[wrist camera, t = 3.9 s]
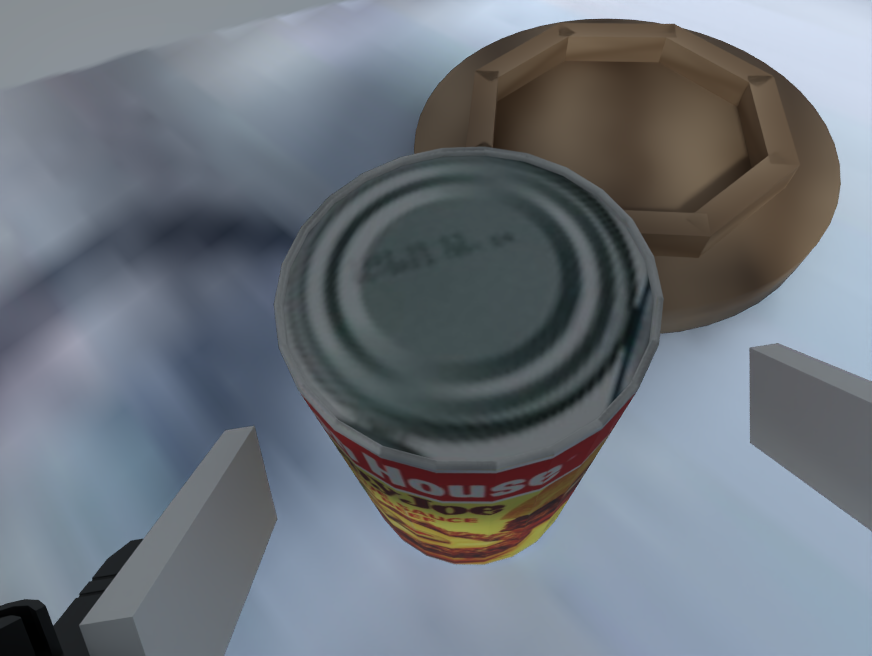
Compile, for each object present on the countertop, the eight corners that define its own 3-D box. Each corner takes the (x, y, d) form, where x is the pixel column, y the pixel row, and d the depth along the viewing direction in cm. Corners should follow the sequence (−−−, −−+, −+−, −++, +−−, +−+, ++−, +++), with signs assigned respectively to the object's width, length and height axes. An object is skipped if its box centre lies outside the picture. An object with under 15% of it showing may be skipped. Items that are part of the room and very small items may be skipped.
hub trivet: (390, 319, 25) (379, 275, 22) (439, 48, 35) (436, -7, 32) (866, 350, 23) (924, 306, 20) (774, 53, 33) (803, -6, 30)
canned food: (327, 481, 21) (192, 323, 11) (444, 335, 24) (425, 103, 14) (498, 615, 19) (529, 570, 8) (607, 433, 22) (729, 236, 11)
